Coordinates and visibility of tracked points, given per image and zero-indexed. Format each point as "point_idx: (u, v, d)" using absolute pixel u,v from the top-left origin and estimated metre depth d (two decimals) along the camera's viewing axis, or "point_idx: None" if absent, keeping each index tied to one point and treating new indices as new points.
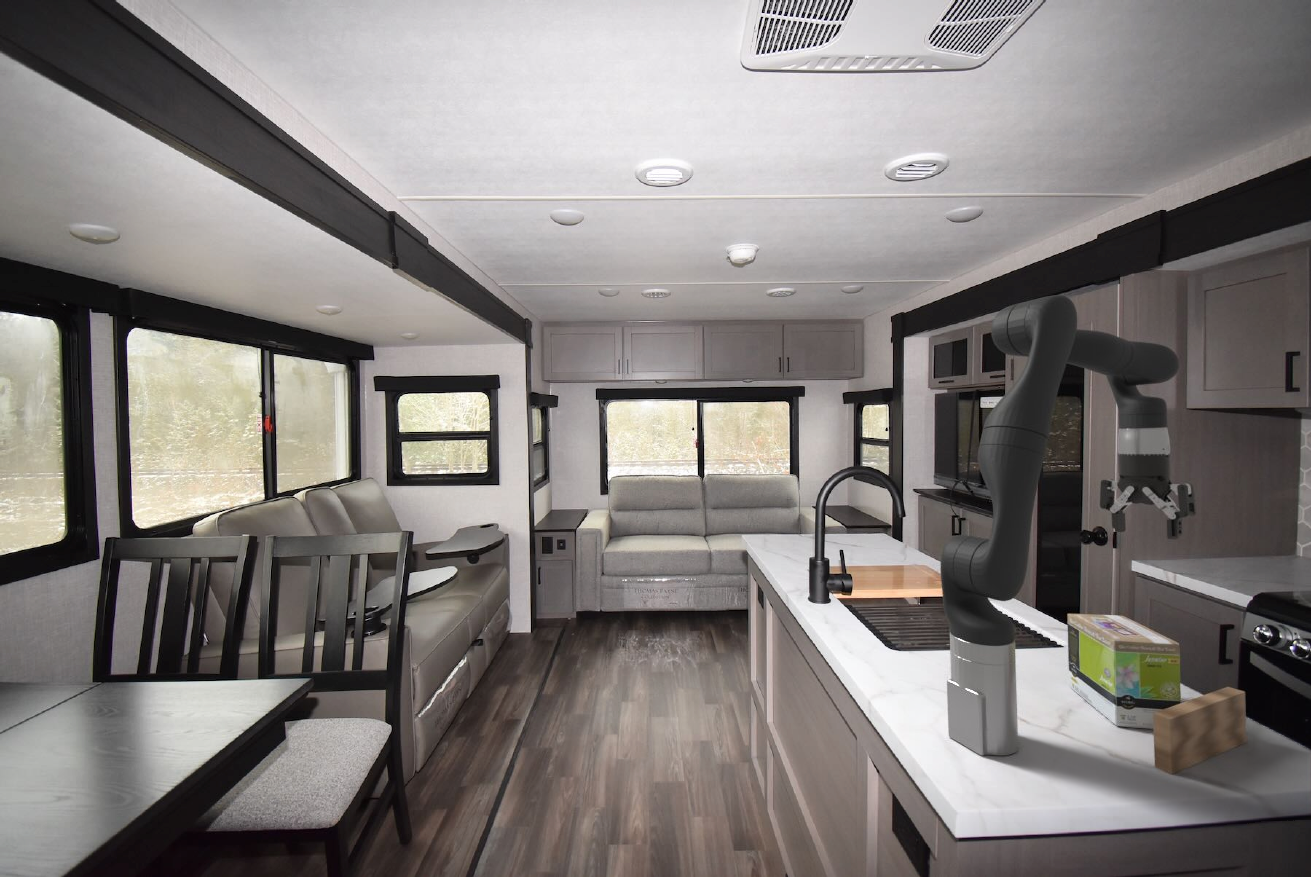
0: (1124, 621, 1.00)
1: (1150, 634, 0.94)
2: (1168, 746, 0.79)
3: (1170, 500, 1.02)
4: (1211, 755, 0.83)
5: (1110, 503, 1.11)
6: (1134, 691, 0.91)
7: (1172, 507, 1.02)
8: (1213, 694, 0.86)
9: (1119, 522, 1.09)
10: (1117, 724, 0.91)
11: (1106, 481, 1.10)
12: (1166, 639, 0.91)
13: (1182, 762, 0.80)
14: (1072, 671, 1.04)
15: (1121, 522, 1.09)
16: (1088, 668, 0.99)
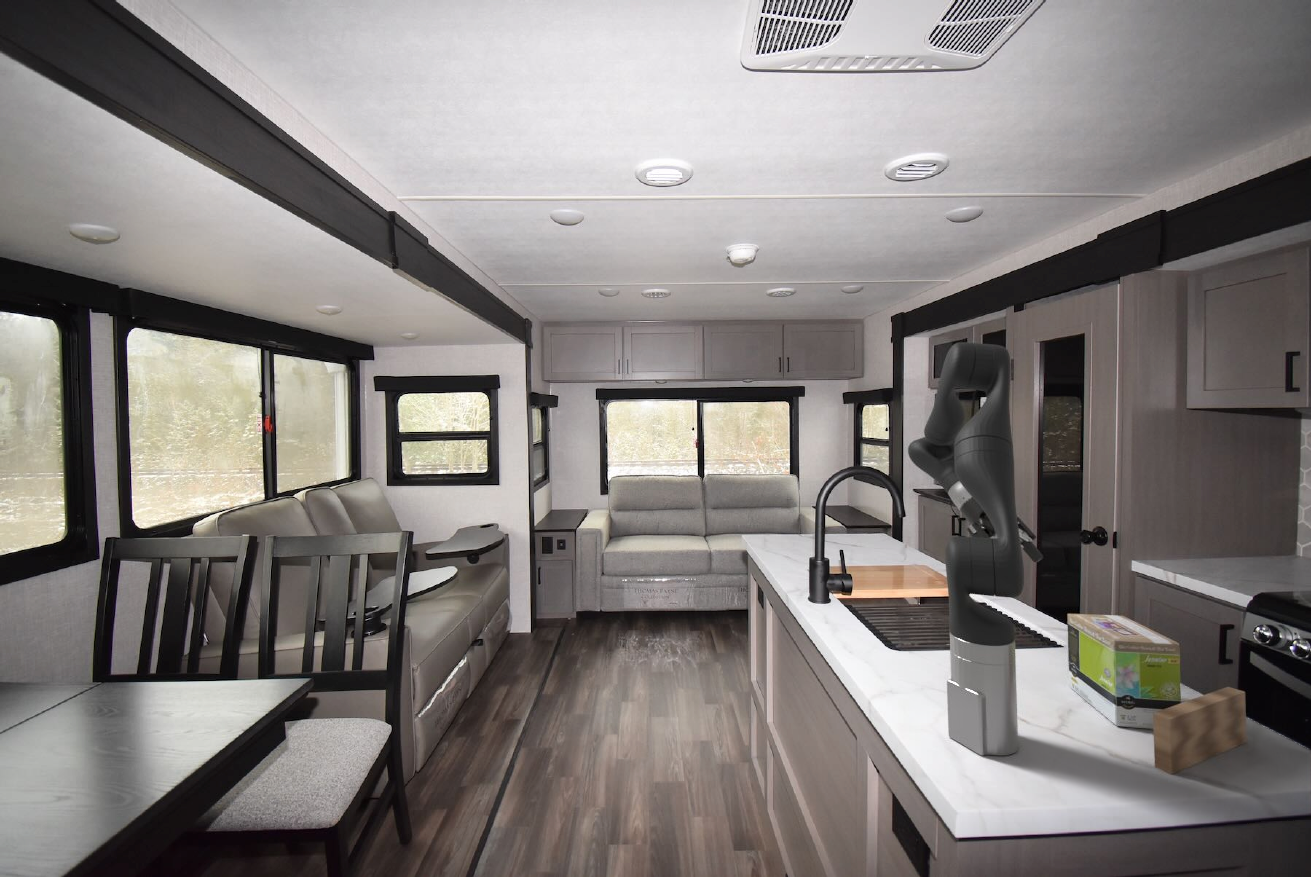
0: (1124, 621, 1.00)
1: (1150, 634, 0.94)
2: (1168, 746, 0.79)
3: None
4: (1211, 755, 0.83)
5: None
6: (1134, 691, 0.91)
7: None
8: (1213, 694, 0.86)
9: None
10: (1117, 724, 0.91)
11: None
12: (1166, 639, 0.91)
13: (1182, 762, 0.80)
14: (1072, 671, 1.04)
15: None
16: (1088, 668, 0.99)
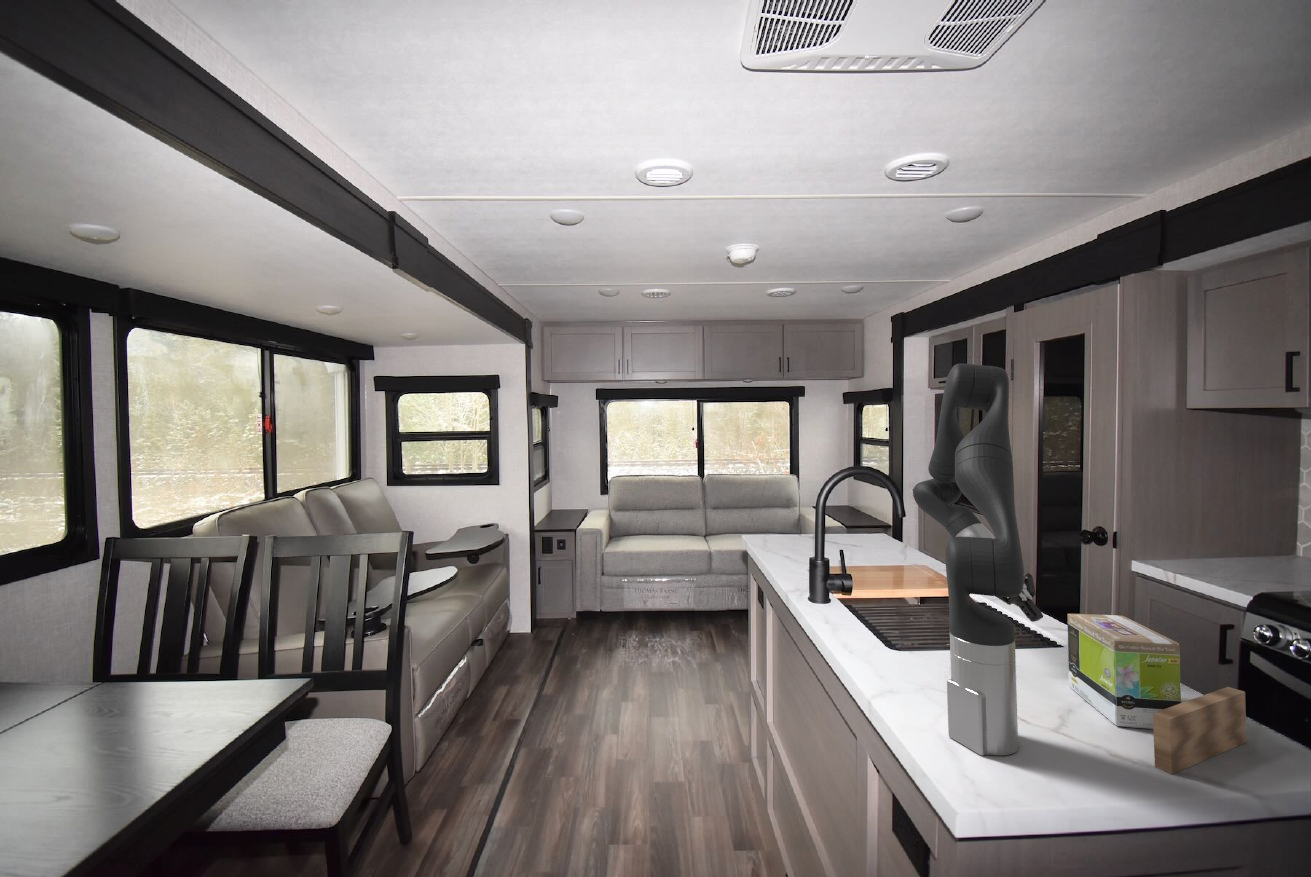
0: (1124, 621, 1.00)
1: (1150, 634, 0.94)
2: (1168, 746, 0.79)
3: None
4: (1211, 755, 0.83)
5: None
6: (1134, 691, 0.91)
7: None
8: (1213, 694, 0.86)
9: None
10: (1117, 724, 0.91)
11: None
12: (1166, 639, 0.91)
13: (1182, 762, 0.80)
14: (1072, 671, 1.04)
15: None
16: (1088, 668, 0.99)
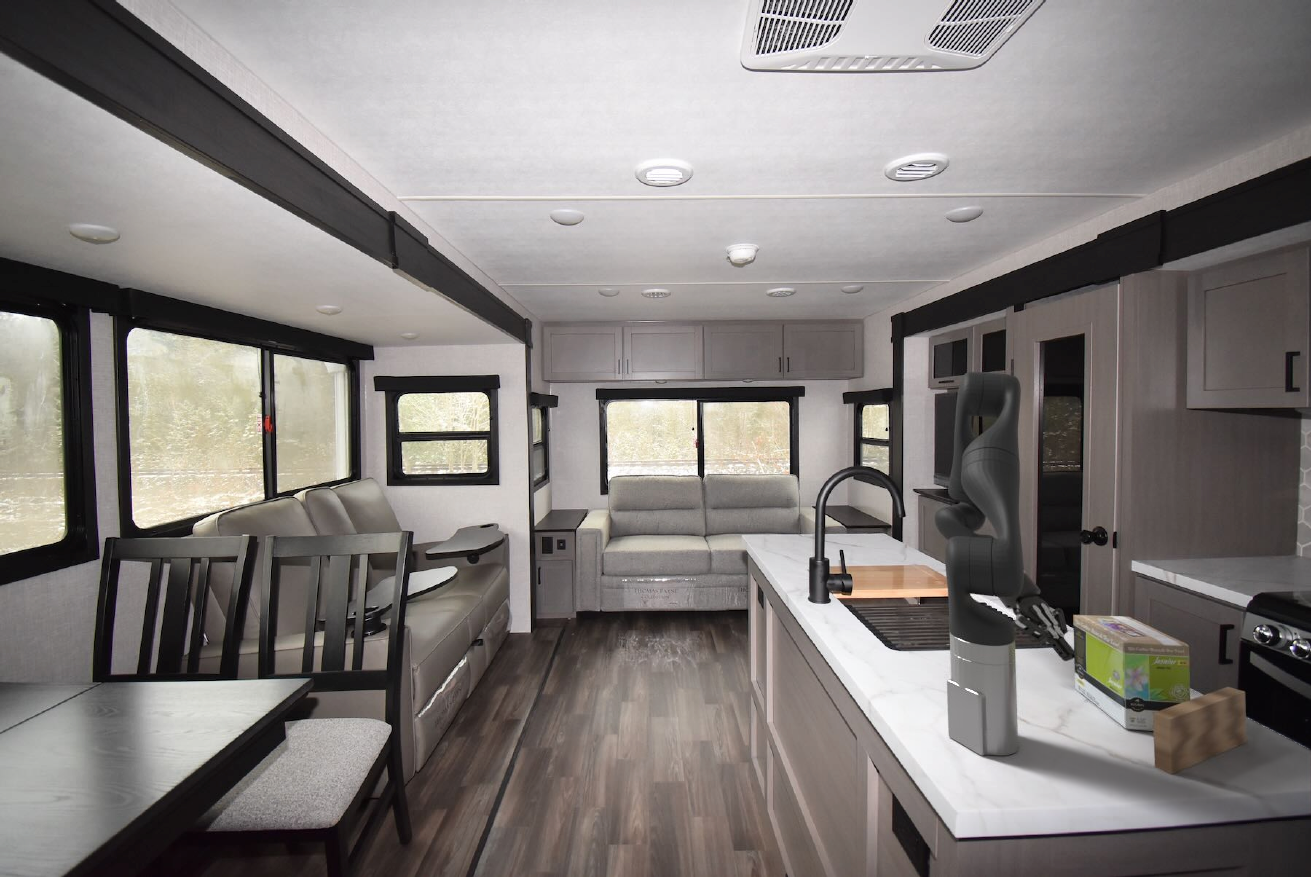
0: (1131, 622, 0.99)
1: (1158, 635, 0.93)
2: (1168, 746, 0.79)
3: None
4: (1211, 755, 0.83)
5: None
6: (1143, 694, 0.90)
7: None
8: (1213, 694, 0.86)
9: None
10: (1126, 727, 0.90)
11: (1021, 616, 1.09)
12: (1175, 640, 0.90)
13: (1182, 762, 0.80)
14: (1078, 673, 1.03)
15: None
16: (1096, 670, 0.98)
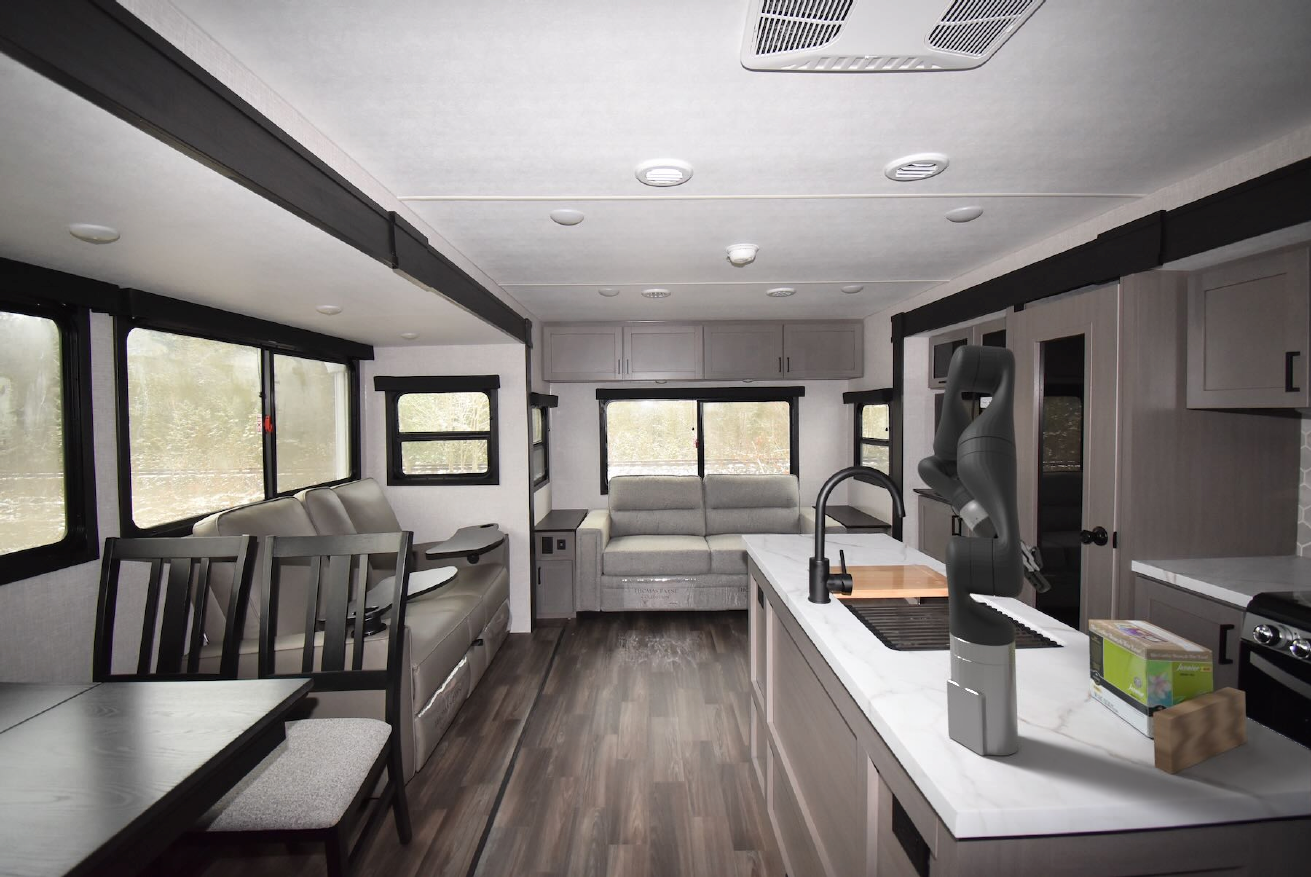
0: (1149, 627, 0.97)
1: (1180, 641, 0.90)
2: (1168, 746, 0.79)
3: None
4: (1211, 755, 0.83)
5: None
6: (1166, 701, 0.87)
7: None
8: (1213, 694, 0.86)
9: None
10: (1149, 736, 0.88)
11: None
12: (1197, 646, 0.88)
13: (1182, 762, 0.80)
14: (1094, 679, 1.01)
15: None
16: (1115, 677, 0.95)
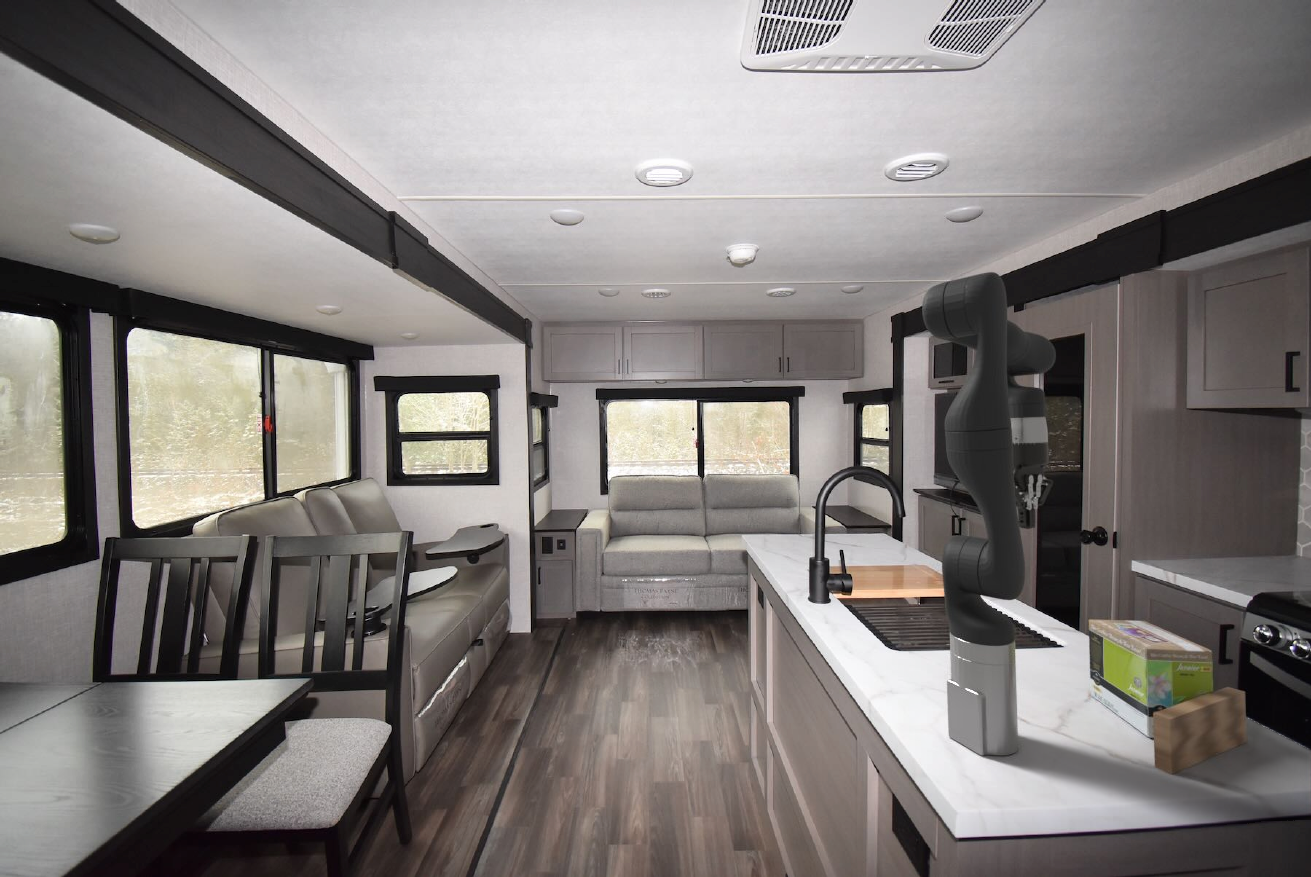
0: (1148, 627, 0.97)
1: (1180, 641, 0.90)
2: (1168, 746, 0.79)
3: None
4: (1211, 755, 0.83)
5: None
6: (1166, 701, 0.87)
7: None
8: (1213, 694, 0.86)
9: None
10: (1149, 736, 0.88)
11: None
12: (1197, 646, 0.88)
13: (1182, 762, 0.80)
14: (1094, 679, 1.01)
15: None
16: (1115, 677, 0.95)
